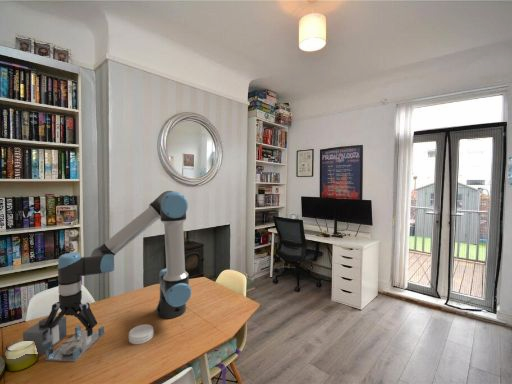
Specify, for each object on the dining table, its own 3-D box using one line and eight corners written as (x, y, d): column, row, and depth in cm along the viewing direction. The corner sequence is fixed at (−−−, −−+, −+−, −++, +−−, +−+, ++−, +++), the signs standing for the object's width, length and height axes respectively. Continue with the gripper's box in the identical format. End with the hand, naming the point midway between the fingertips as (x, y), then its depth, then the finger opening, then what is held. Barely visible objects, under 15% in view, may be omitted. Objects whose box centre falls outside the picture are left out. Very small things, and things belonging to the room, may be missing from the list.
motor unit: (104, 333, 115) (104, 310, 115) (75, 361, 98) (74, 334, 97) (54, 331, 116) (54, 309, 116) (16, 359, 98) (15, 333, 98)
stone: (61, 346, 106) (60, 340, 105) (82, 339, 110) (82, 333, 110) (60, 359, 98) (60, 352, 98) (83, 351, 102) (83, 345, 102)
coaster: (137, 348, 106) (137, 339, 106) (124, 339, 111) (123, 332, 111) (158, 335, 114) (158, 328, 114) (144, 328, 120) (144, 321, 120)
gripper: (106, 288, 106) (107, 338, 107) (48, 287, 107) (49, 336, 108) (94, 296, 98) (95, 349, 99) (32, 295, 99) (33, 347, 100)
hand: (71, 342), depth 104 cm, fingers open, 13 cm apart
